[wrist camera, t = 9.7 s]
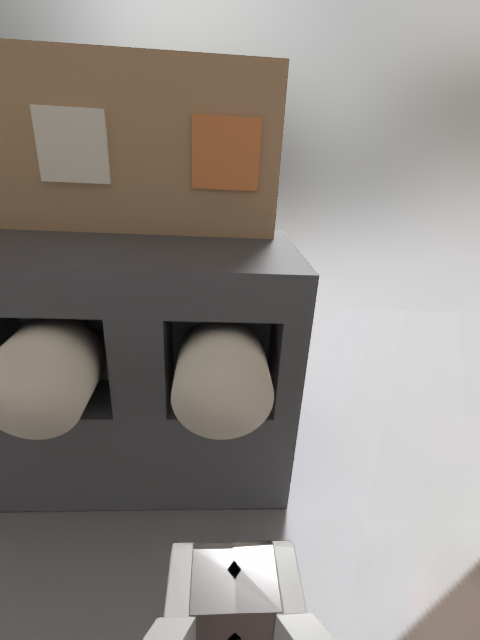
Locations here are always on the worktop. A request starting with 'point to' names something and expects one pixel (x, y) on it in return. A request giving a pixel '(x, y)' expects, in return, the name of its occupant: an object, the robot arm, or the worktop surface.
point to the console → (148, 264)
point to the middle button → (48, 377)
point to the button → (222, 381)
